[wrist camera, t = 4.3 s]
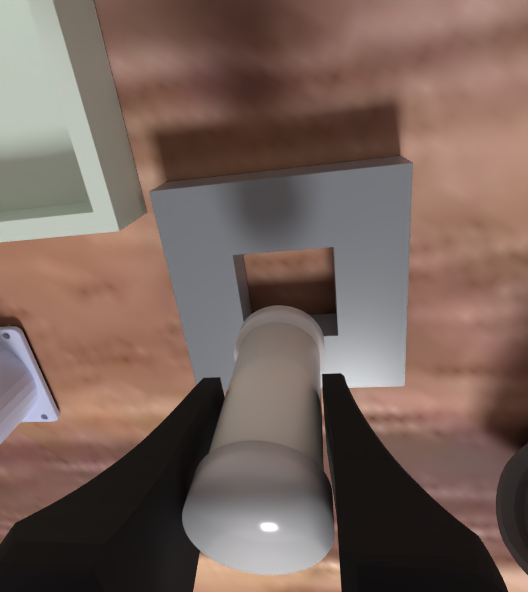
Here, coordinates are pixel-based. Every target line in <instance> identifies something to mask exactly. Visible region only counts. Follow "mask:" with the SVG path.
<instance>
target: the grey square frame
mask: <svg viewBox="0 0 528 592" xmlns="http://www.w3.org/2000/svg"><path fill="white" fill-rule="evenodd" d="M412 169H413V163H412V162H411V161H409V160H407V159H406V158H404V157H402V156H394V157H385V158H376V159H367V160H358V161H349V162H341V163H332V164H323V165H314V166H305V167H296V168H287V169H278V170H269V171H260V172H252V173H243V174H234V175H225V176H216V177H207V178H198V179H189V180H180V181H171V182H166V183H164V184H162V185H160V186H158V187H157V188H155V189H153V190H151V191H149V193H150V197H151V201H152V205H153V209H154V213H155V217H156V221H157V226H158V230H159V234H160V238H161V242H162V246H163V250H164V254H165V258H166V262H167V266H168V271H169V275H170V279H171V283H172V287H173V291H174V295H175V299H176V303H177V307H178V311H179V315H180V320H181V324H182V328H183V332H184V336H185V340H186V344H187V348H188V352H189V356H190V360H191V364H192V369H193V373H194V377H195V381H196V385H197V384H198V383H199V382H200V381H201V380H202V379H203V378H211V377H220V378H221V383H222V388H223V391H227V389H228V385H229V382H230V378H231V375H232V372H233V368H234V365H235V359H234V348H235V344H236V340H237V337H238V334H239V331H240V328H241V326H242V324H243V323H244V321H245V320H246V319H247V318H248V317H249V316H250V315H251V314H252V310H251V304H250V297H249V291H248V284H247V278H246V271H245V265H244V258H243V254H252V253H264V252H277V251H289V250H301V249H314V248H326V247H332V250H333V270H334V289H335V309H336V313H332V314H313V315H310V316H311V317H312V318H313V319H314V320H315V321H316V322H317V324H318V325H319V327H320V328H321V331H322V333H323V336H324V344H325V364H324V368H323V371H322V372H321V388H322V374H332V373H341V374H342V375H344V377H345V380H346V383H347V386H348V388H351V387H388V386H404V383H405V356H406V329H407V302H408V276H409V249H410V222H411V196H412Z"/></svg>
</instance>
